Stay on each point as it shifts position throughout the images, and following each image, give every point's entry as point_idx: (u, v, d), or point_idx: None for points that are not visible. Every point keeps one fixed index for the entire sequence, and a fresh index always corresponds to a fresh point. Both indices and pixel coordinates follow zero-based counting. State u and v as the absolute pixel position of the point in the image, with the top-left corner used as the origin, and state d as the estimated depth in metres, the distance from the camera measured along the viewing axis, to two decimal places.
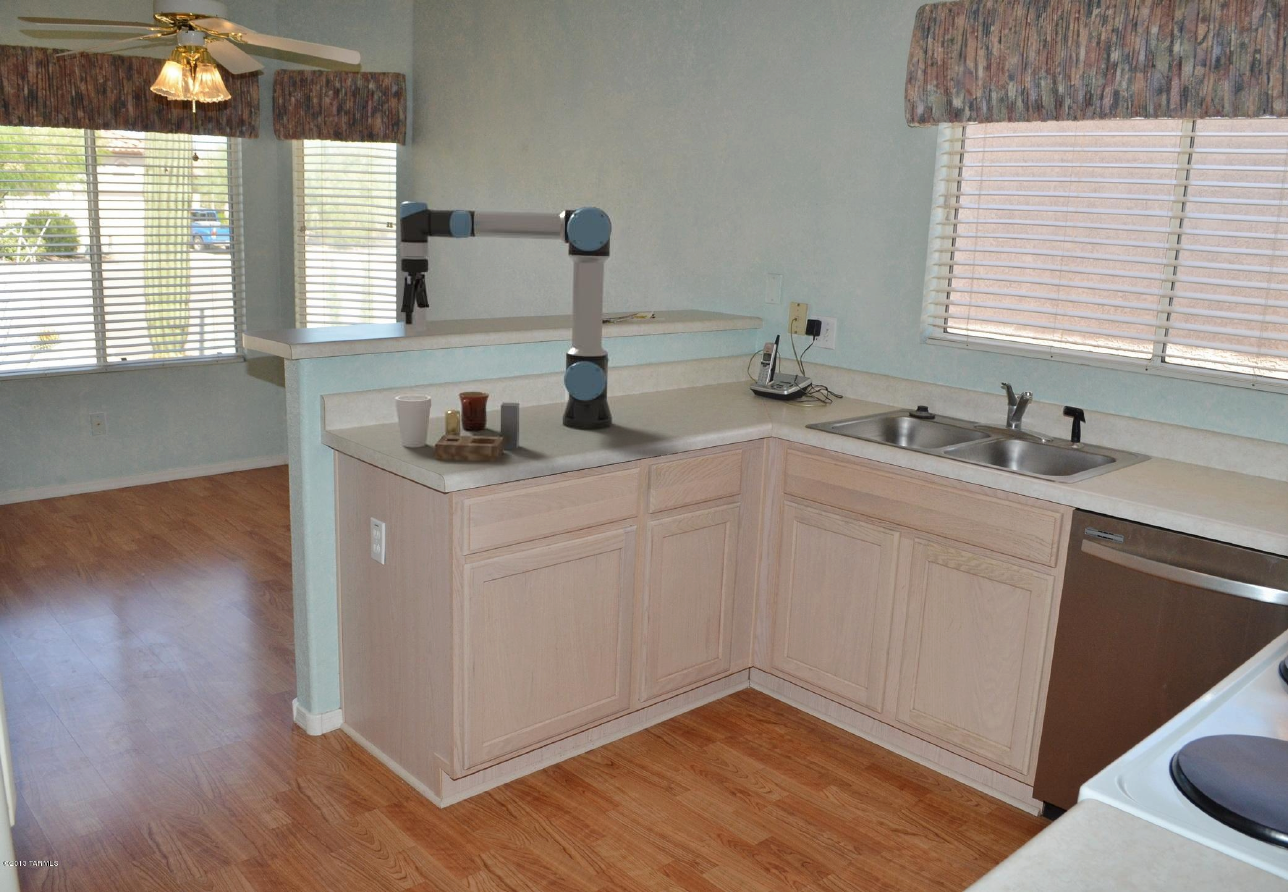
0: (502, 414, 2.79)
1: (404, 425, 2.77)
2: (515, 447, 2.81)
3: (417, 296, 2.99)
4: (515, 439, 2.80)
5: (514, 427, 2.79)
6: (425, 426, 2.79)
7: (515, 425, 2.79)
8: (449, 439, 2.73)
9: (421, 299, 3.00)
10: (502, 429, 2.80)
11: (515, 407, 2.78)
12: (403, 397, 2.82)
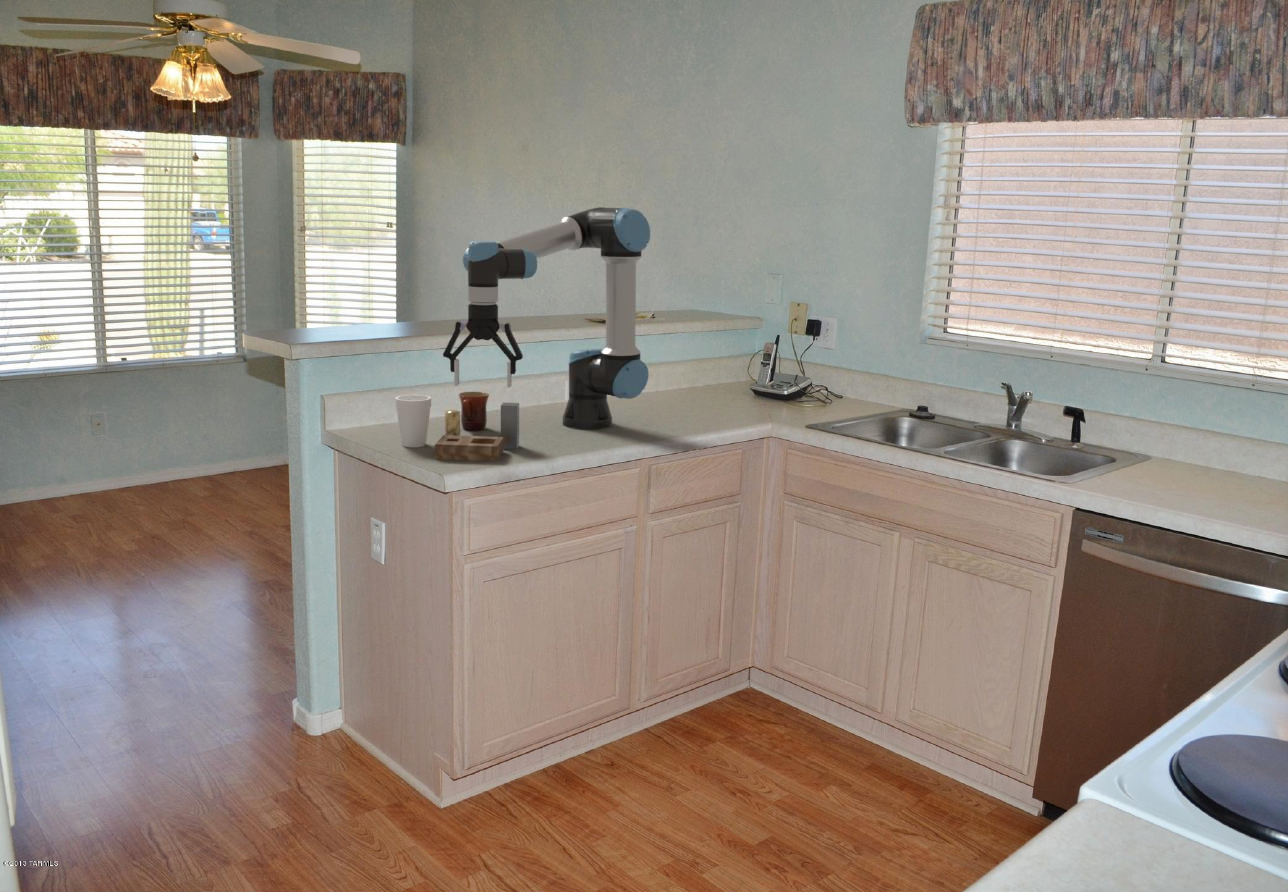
0: (502, 414, 2.79)
1: (404, 425, 2.77)
2: (515, 447, 2.81)
3: None
4: (515, 439, 2.80)
5: (513, 427, 2.79)
6: (425, 426, 2.79)
7: (515, 425, 2.79)
8: (449, 439, 2.73)
9: None
10: (502, 429, 2.80)
11: (515, 407, 2.78)
12: (403, 397, 2.82)
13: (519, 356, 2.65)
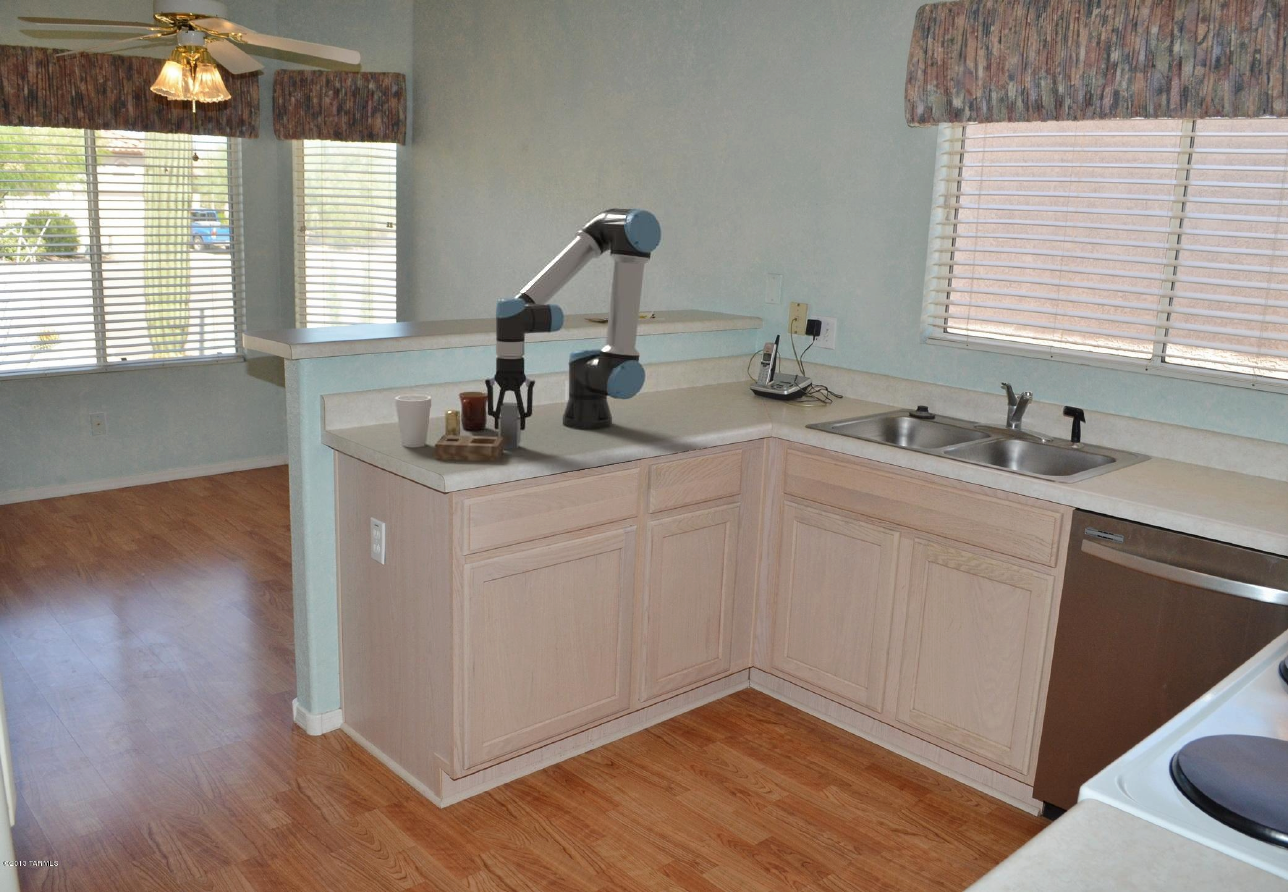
0: (502, 414, 2.79)
1: (404, 425, 2.77)
2: (515, 447, 2.81)
3: None
4: (515, 439, 2.80)
5: (514, 427, 2.79)
6: (425, 426, 2.79)
7: (515, 425, 2.79)
8: (449, 439, 2.73)
9: (518, 405, 2.80)
10: (502, 429, 2.80)
11: (515, 407, 2.78)
12: (403, 397, 2.82)
13: (529, 413, 2.80)
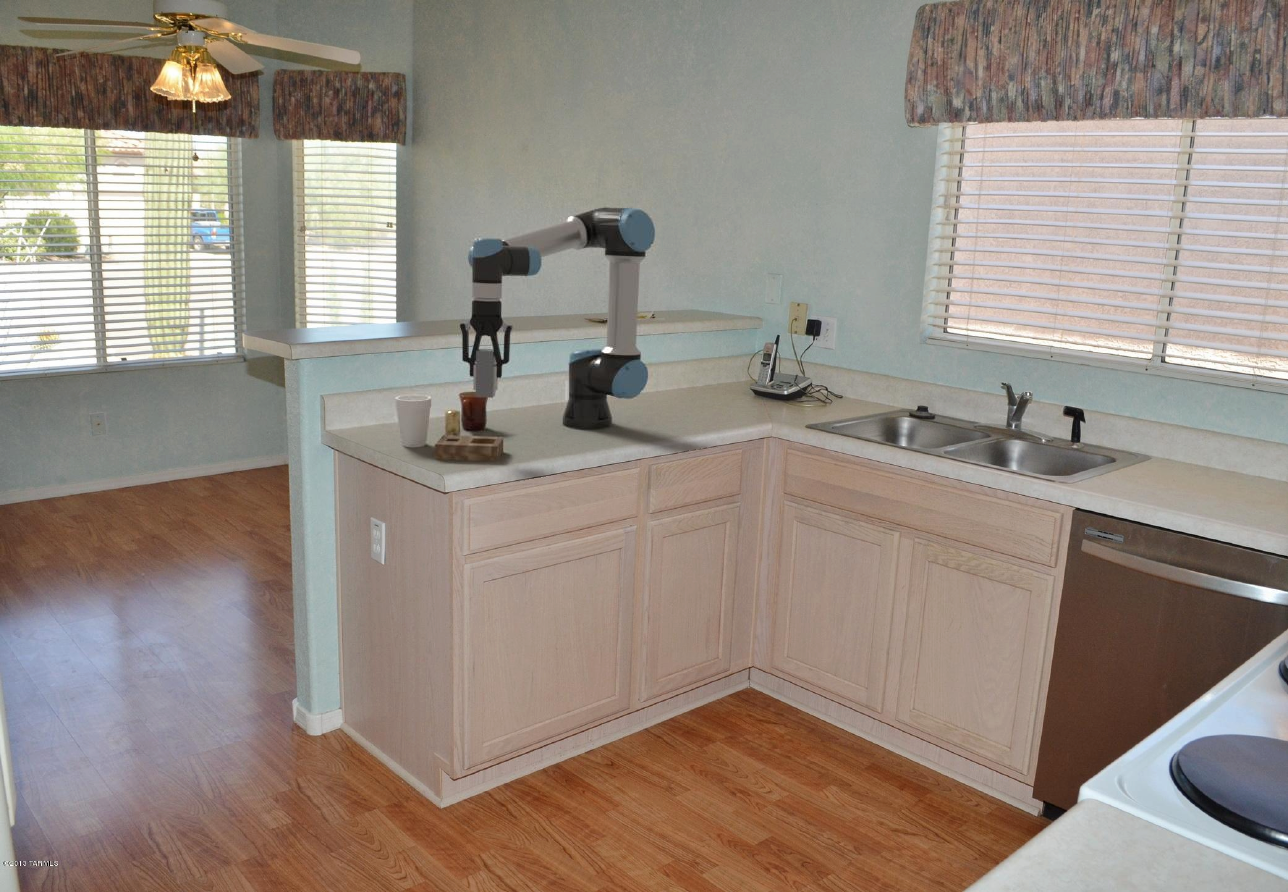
0: (477, 360, 2.66)
1: (404, 425, 2.77)
2: (491, 395, 2.68)
3: None
4: (491, 387, 2.67)
5: (489, 374, 2.67)
6: (425, 426, 2.79)
7: (491, 372, 2.66)
8: (449, 439, 2.73)
9: None
10: (478, 376, 2.67)
11: (491, 353, 2.65)
12: (403, 397, 2.82)
13: (506, 360, 2.67)
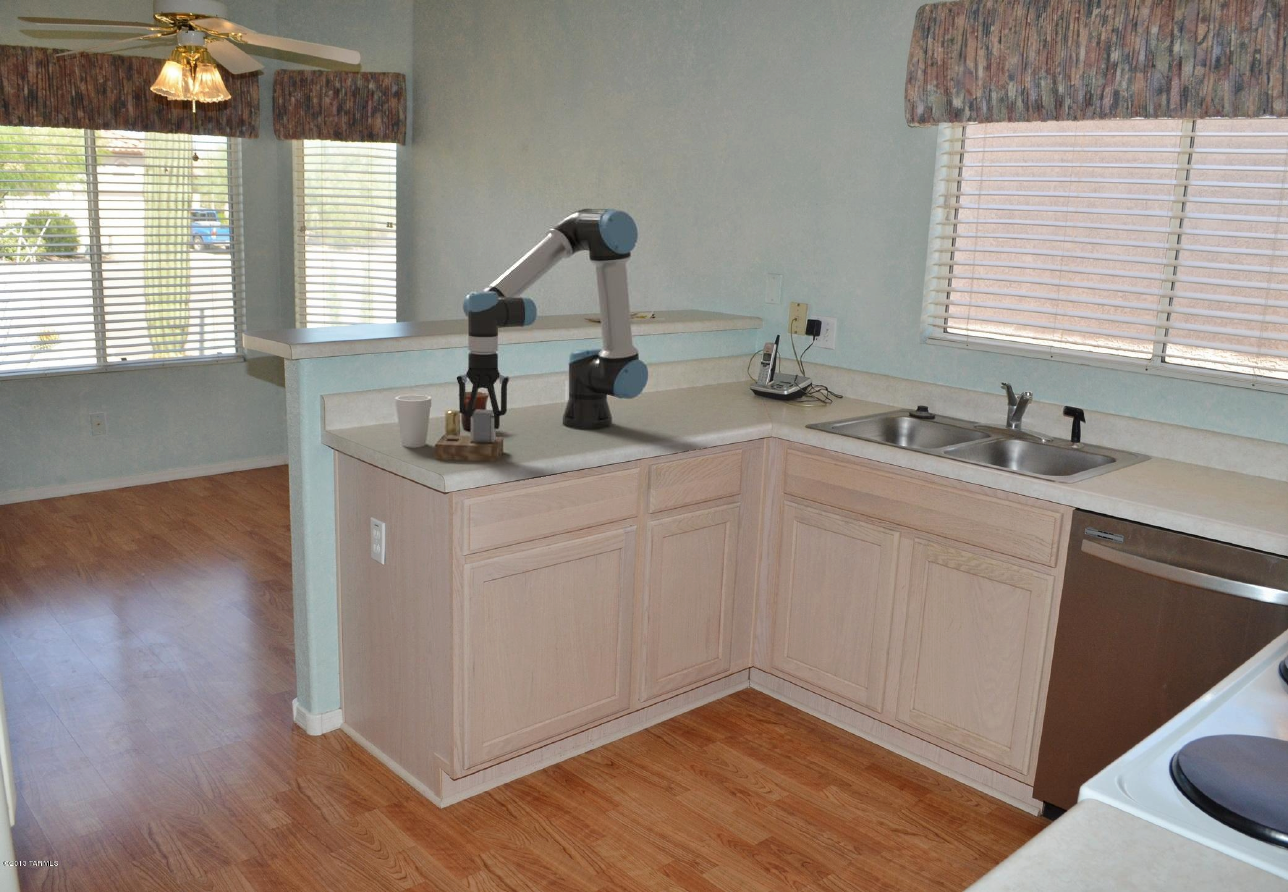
0: (475, 421, 2.68)
1: (404, 425, 2.77)
2: None
3: None
4: None
5: (487, 435, 2.69)
6: (425, 426, 2.79)
7: (488, 433, 2.69)
8: (449, 439, 2.73)
9: None
10: (475, 437, 2.69)
11: (488, 414, 2.67)
12: (403, 397, 2.82)
13: (503, 411, 2.68)
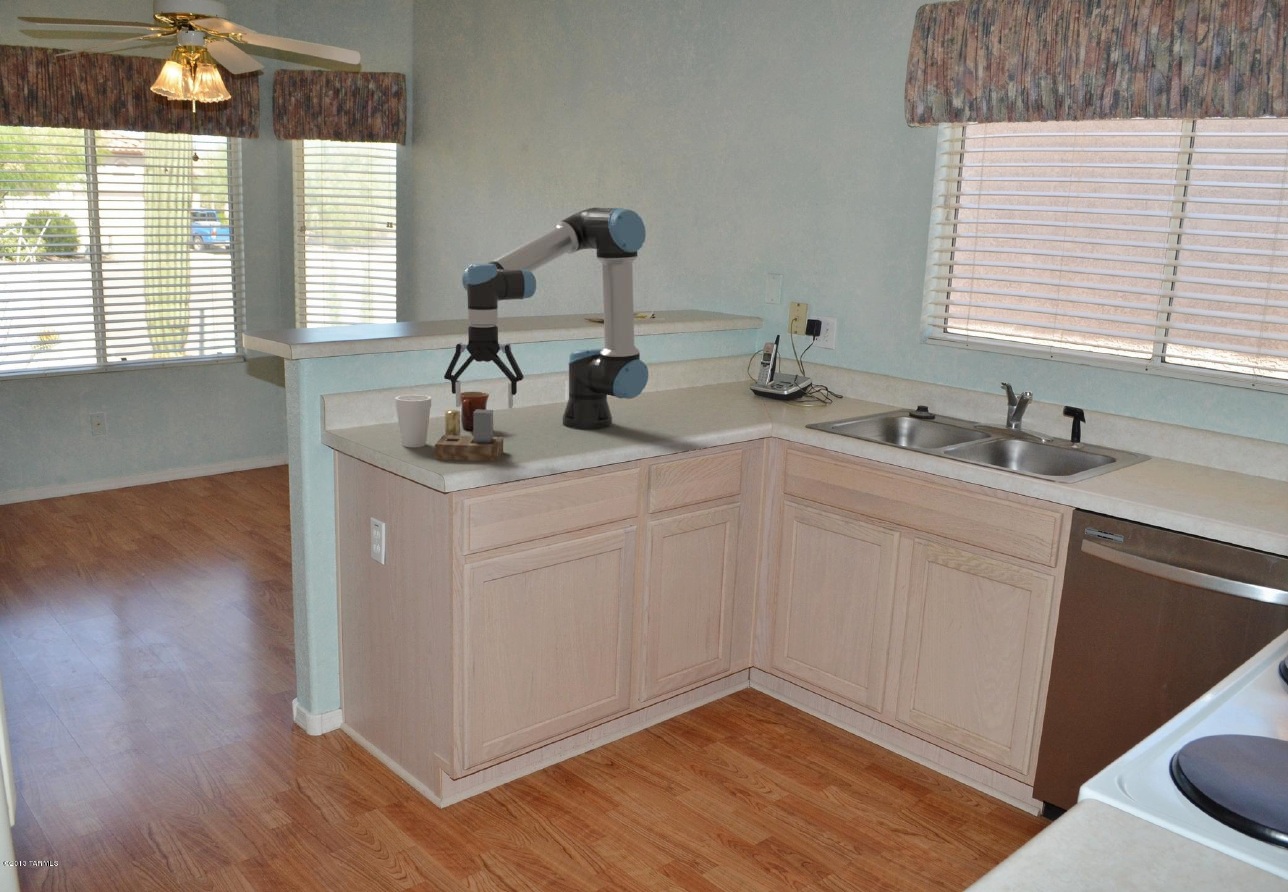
0: (475, 421, 2.68)
1: (404, 425, 2.77)
2: None
3: None
4: None
5: (487, 435, 2.69)
6: (425, 426, 2.79)
7: (488, 433, 2.69)
8: (449, 439, 2.73)
9: None
10: (475, 437, 2.69)
11: (488, 414, 2.67)
12: (403, 397, 2.82)
13: (520, 377, 2.66)
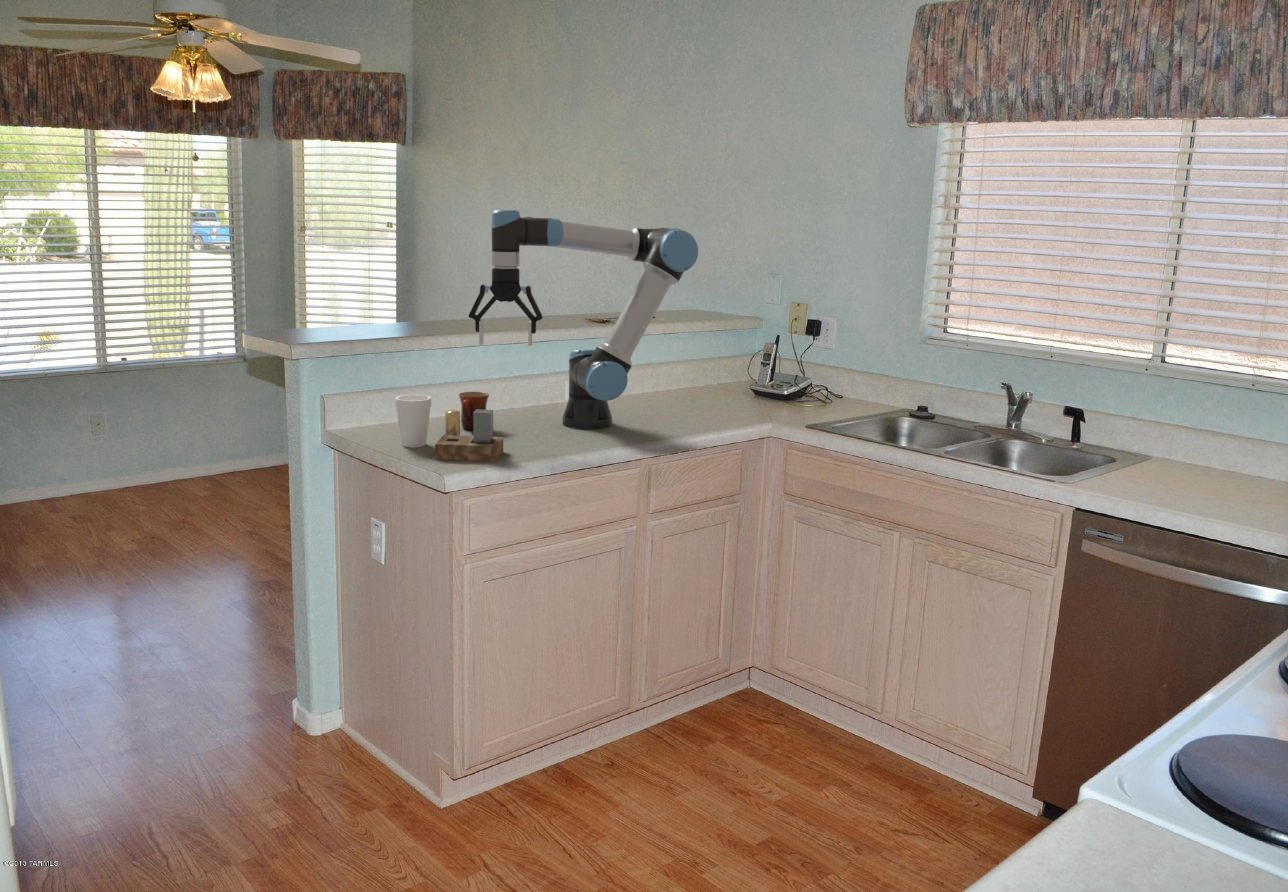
0: (475, 421, 2.68)
1: (404, 425, 2.77)
2: None
3: None
4: None
5: (487, 435, 2.69)
6: (425, 426, 2.79)
7: (488, 433, 2.69)
8: (449, 439, 2.73)
9: None
10: (475, 437, 2.69)
11: (488, 414, 2.67)
12: (403, 397, 2.82)
13: (539, 316, 2.85)
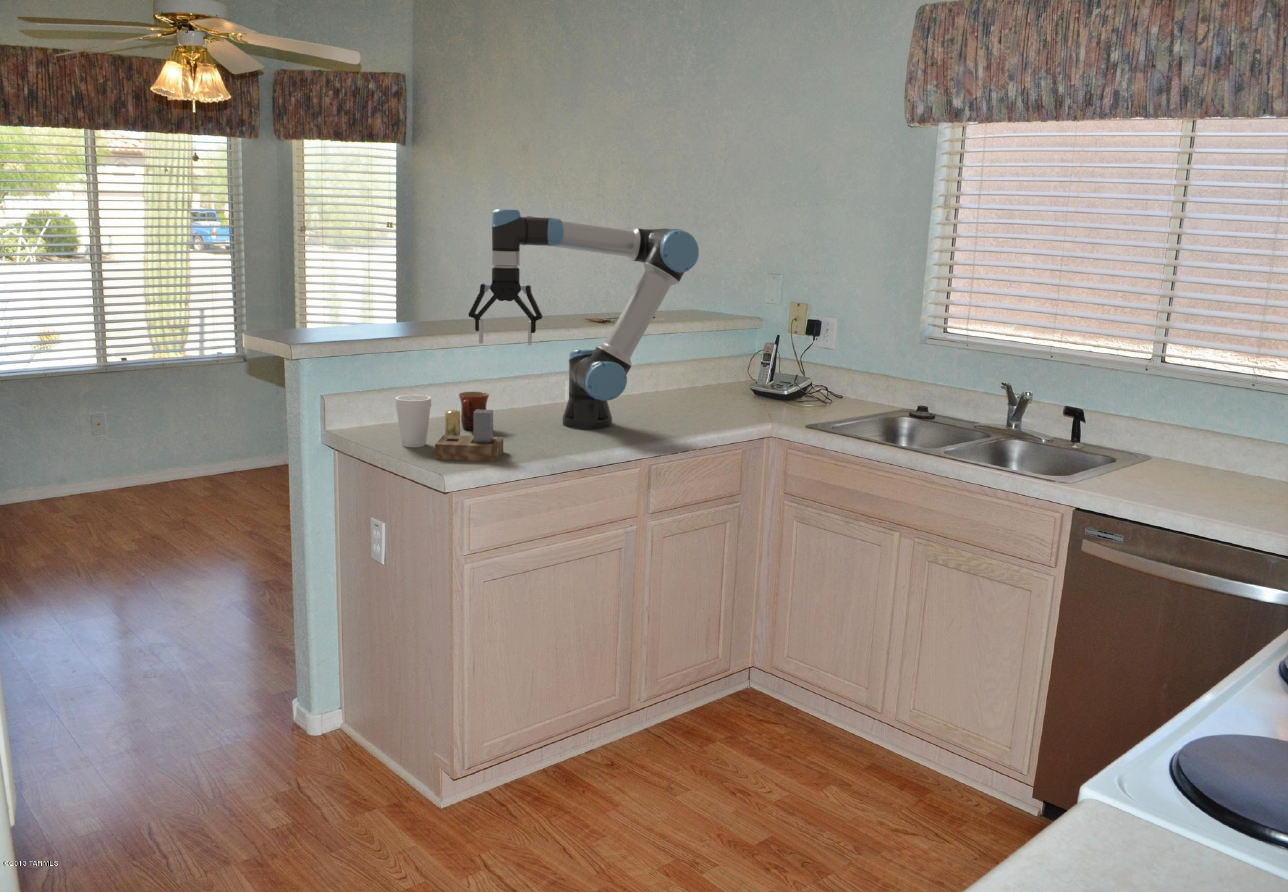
0: (475, 421, 2.68)
1: (404, 425, 2.77)
2: None
3: None
4: None
5: (487, 435, 2.69)
6: (425, 426, 2.79)
7: (488, 433, 2.69)
8: (449, 439, 2.73)
9: (524, 311, 2.86)
10: (475, 437, 2.69)
11: (488, 414, 2.67)
12: (403, 397, 2.82)
13: (539, 316, 2.86)
